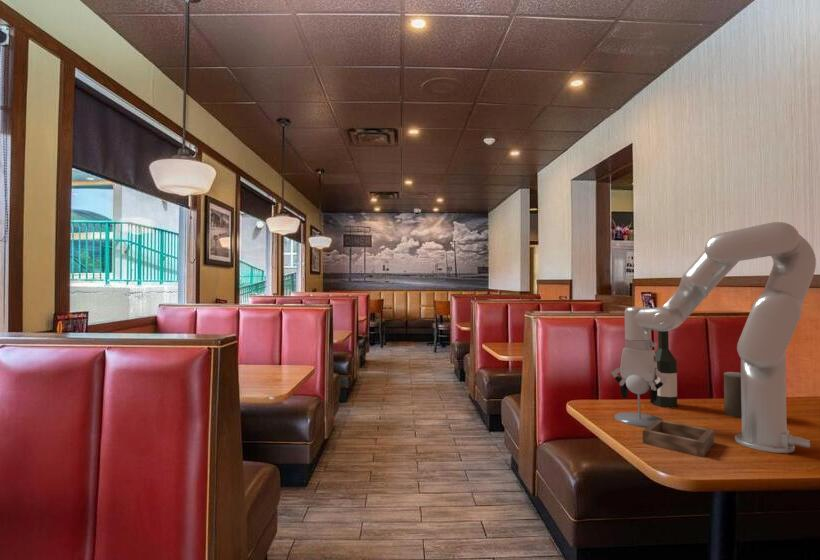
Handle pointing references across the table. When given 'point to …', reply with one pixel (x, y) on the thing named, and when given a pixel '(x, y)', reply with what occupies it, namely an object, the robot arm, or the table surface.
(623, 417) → the gray round disc
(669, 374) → the wine bottle
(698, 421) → the table surface
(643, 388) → the eyeball on stick
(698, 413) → the table surface
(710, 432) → the frame
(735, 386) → the pillar candle
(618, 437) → the table surface
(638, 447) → the table surface
